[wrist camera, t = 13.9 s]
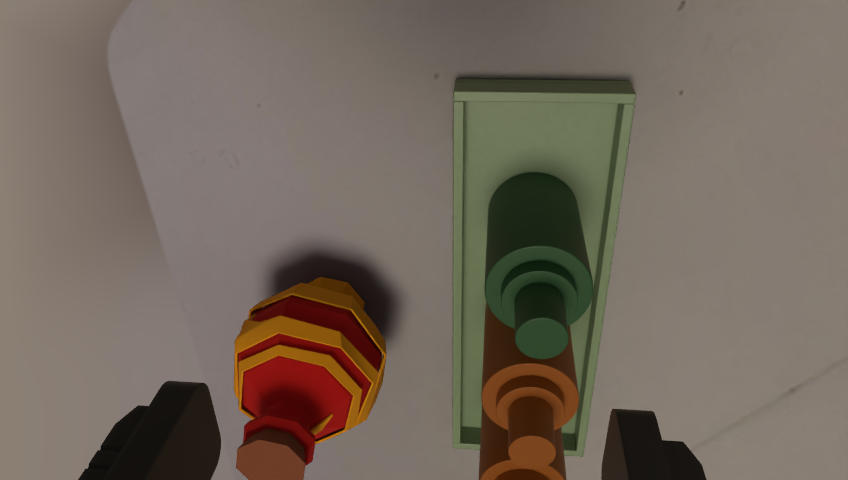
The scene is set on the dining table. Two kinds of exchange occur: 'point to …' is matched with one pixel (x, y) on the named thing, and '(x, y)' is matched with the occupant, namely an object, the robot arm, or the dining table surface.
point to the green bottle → (536, 262)
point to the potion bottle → (304, 375)
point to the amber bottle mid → (526, 393)
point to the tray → (522, 153)
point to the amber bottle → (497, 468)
